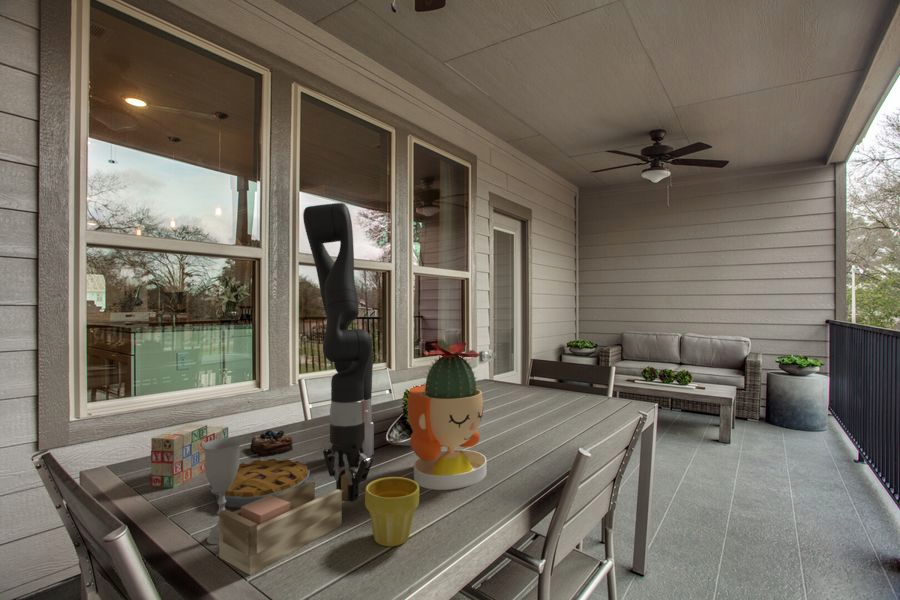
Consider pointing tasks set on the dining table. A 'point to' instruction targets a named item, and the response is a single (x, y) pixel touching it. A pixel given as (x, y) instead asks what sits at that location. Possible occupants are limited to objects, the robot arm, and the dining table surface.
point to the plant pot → (391, 508)
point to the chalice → (221, 472)
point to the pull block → (278, 505)
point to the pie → (263, 480)
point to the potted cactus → (447, 422)
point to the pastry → (271, 443)
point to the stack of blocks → (181, 453)
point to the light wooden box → (278, 528)
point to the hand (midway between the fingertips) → (347, 498)
